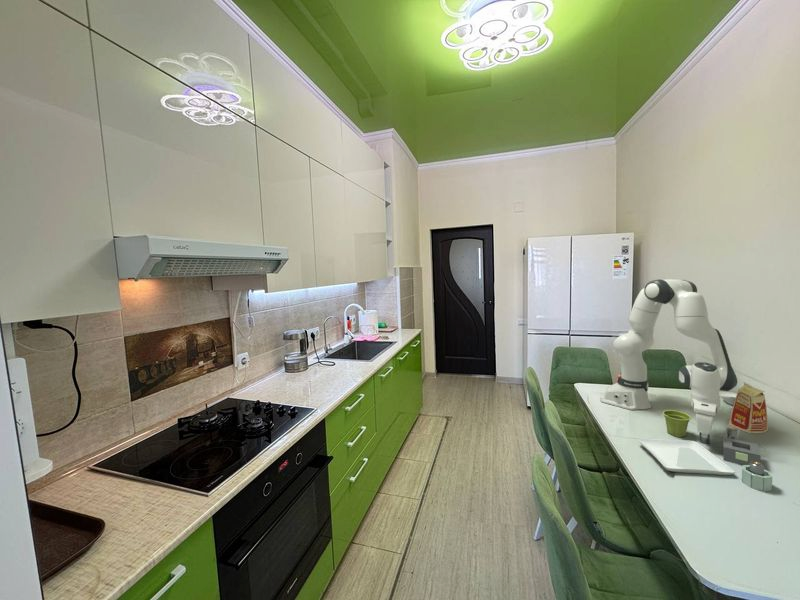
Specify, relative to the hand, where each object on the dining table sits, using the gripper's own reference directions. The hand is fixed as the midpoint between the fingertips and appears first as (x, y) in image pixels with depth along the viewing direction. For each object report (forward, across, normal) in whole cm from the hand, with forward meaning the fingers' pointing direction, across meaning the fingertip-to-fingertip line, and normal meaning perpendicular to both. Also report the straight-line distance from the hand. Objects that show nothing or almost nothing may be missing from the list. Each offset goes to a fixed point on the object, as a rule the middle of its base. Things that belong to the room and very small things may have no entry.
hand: (704, 435), depth 134 cm
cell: (+3, 0, 0) cm, 3 cm away
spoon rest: (+4, -49, +12) cm, 51 cm away
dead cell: (+2, +25, +13) cm, 28 cm away
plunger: (0, +9, +10) cm, 13 cm away
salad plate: (+4, +21, -6) cm, 22 cm away
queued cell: (+3, -2, +8) cm, 9 cm away
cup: (+3, +25, +13) cm, 28 cm away
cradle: (+3, +9, +10) cm, 14 cm away
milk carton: (+3, -25, +14) cm, 29 cm away
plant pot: (+3, -2, -9) cm, 10 cm away
